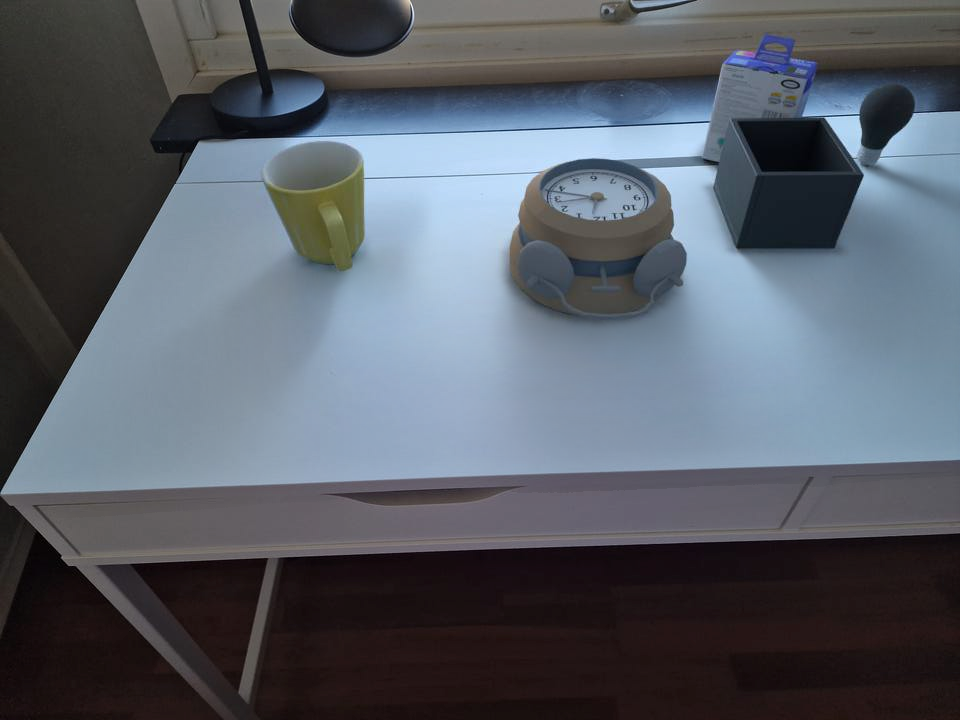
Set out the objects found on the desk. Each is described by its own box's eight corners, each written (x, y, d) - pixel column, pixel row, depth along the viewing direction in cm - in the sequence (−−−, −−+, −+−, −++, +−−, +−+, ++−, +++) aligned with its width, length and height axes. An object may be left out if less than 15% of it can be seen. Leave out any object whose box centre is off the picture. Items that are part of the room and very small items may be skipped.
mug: (285, 229, 79) (262, 145, 72) (373, 218, 80) (360, 134, 73) (283, 305, 70) (256, 216, 62) (383, 291, 71) (369, 202, 63)
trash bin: (800, 187, 83) (824, 117, 76) (834, 248, 74) (864, 174, 68) (712, 187, 83) (729, 118, 77) (735, 248, 74) (756, 175, 68)
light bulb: (841, 172, 85) (871, 93, 78) (839, 151, 88) (868, 73, 81) (891, 179, 83) (926, 98, 76) (887, 156, 87) (920, 77, 80)
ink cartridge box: (790, 159, 87) (828, 40, 77) (779, 178, 84) (816, 58, 74) (713, 141, 91) (739, 26, 81) (700, 159, 88) (725, 42, 78)
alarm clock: (671, 143, 72) (721, 280, 56) (658, 218, 79) (698, 360, 62) (509, 145, 73) (511, 282, 57) (509, 219, 79) (510, 361, 63)
